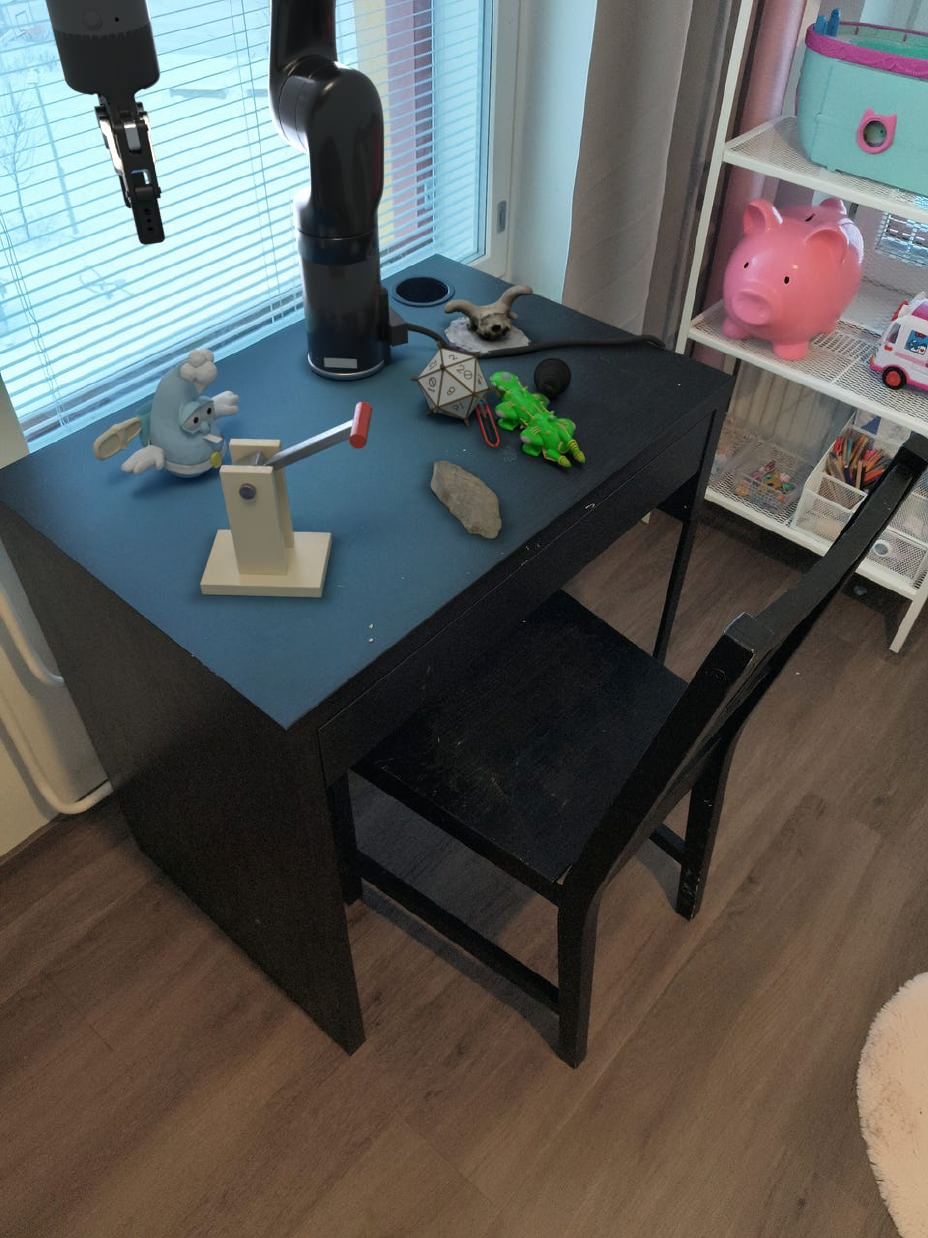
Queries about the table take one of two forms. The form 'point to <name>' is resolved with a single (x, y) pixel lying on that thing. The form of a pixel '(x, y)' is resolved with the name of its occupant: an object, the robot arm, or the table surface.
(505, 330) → the skull
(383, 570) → the table surface
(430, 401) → the game die
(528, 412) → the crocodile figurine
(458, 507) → the stone
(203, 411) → the toy figure
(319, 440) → the lever
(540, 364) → the chess piece
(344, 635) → the table surface
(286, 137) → the robot arm
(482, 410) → the red paper clip
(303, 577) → the lever stand
